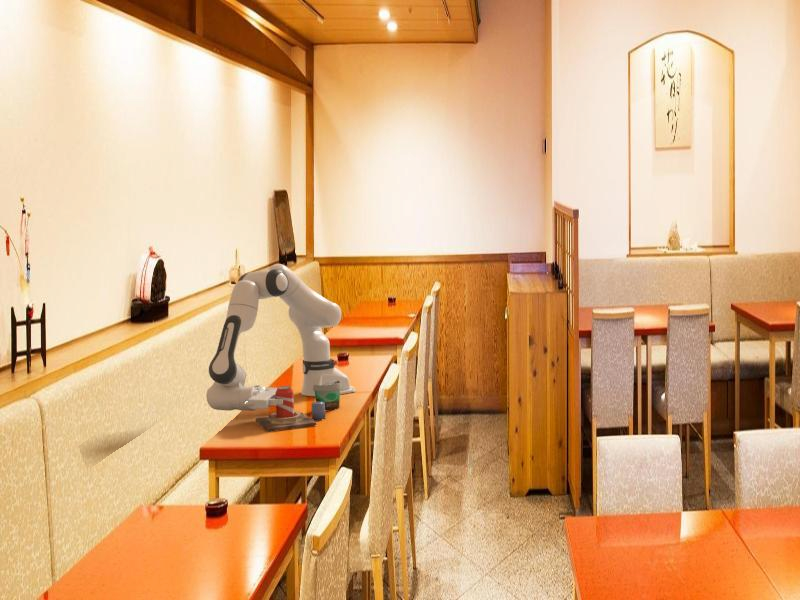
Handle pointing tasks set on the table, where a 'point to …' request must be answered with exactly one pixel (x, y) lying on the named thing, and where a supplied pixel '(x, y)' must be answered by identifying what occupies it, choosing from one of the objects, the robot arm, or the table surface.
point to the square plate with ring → (284, 422)
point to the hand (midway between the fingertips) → (286, 398)
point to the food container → (328, 395)
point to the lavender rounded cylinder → (318, 410)
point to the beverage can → (285, 402)
